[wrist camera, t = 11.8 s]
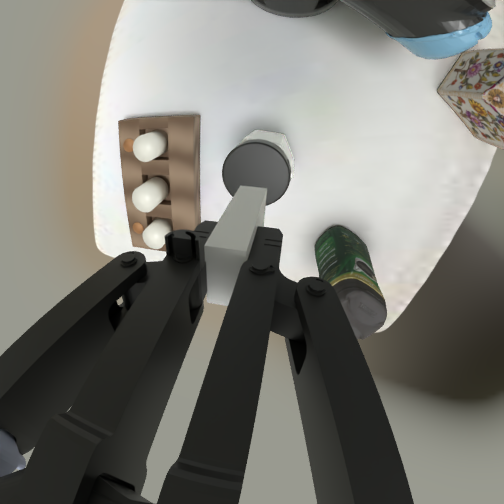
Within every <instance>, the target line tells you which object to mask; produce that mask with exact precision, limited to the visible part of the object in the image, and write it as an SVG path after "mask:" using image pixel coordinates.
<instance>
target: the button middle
mask: <svg viewBox="0 0 504 504" xmlns="http://www.w3.org/2000/svg"><path fill="white" fill-rule="evenodd" d="M168 192H169V189H168V185H167V183H166V182H165V181H164V180H163V179H162V178H159V177H153V178H151V179H149V180H148V181H146V182H145V183H143V184H142V185H141V186H139V187H138V188H136V189H135V190H134V191H133V194H132V201H133V204H134V205H135V207H136V208H137V209H138V210H140V211H141V212H150V211H152V210H153V209H154V208H155V207H156V206H157V205H158V204H159V203H161V202H162V201H163V200H164V199H165V198H166V197H167V195H168Z"/></svg>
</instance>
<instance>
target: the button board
mask: <svg viewBox="0 0 504 504" xmlns="http://www.w3.org/2000/svg"><path fill="white" fill-rule="evenodd" d="M118 124H119V143H120V157H121V168H122V178H123V186H124V194H125V202H126V209H127V216H128V222H129V228H130V234H131V239H132V245H133V247H140V248H146V249H152V248H150V247H149V246H147V245H146V243H145V242H144V240H143V231H144V230H145V229H146V228H147V227H148V226H149V225H150V224H151V223H152V222H153V221H154V220H155V219H156V218H157V217H160V218H170V219H172V222H173V231H174V230H180V229H187V230H192V231H194V230H195V228H196V227H197V225H198V224H200V223H201V217H200V115H177V116H155V117H141V118H129V119H124V120H120V121H118ZM155 130H163V131H165V132H166V133H167V134H168V151H167V152H166V153H164V154H162V155H160V156H158V157H156V158H155V159H153V160H151V161H148V162H142V161H140V160H138V159H137V158H136V156H135V155H134V152H133V144H134V141H135V139H136V138H137V137H139V136H141V135H143V134H146V133H149V132H152V131H155ZM153 177H159V178H162V179H163V180H164V181H165V182H166V183H167V185H168V189H169V192H168V195H167V197H166V198H165V199H164V200H163V201H162V202H161V203H159V204H158V205H157V206H156V207H155V208H154V209H153V210H152V211H150V212H141V211H140V210H138V209H137V208H136V207H135V205H134V204H133V201H132V194H133V191H134V190H135V189H136V188H138V187H139V186H141V185H142V184H143V183H145V182H146V181H148V180H149V179H151V178H153ZM153 250H159V251H166V245H165V244H164V245H163V247H162V248H160V249H153Z"/></svg>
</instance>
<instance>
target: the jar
mask: <svg viewBox="0 0 504 504" xmlns="http://www.w3.org/2000/svg"><path fill="white" fill-rule="evenodd" d="M222 176H223V182H224V185H225V187H226V189H227V190H228V192H229V193H230V194H231V195H232V196H233V197H234V195H235V193H236V192H237V190H238V189H239V187H240V186H250V187H259V188H267V194H266V205H269V204H272V203H274V202H276V201H277V200H278V199H280V198H281V197H282V196H283V195H284V193H285V192H286V190H287V188H288V186H289V182H290V180H291V179H292V178H293V177H294V158H293V155H292V152H291V150H290V147H289V144H288V142H287V139H286V137H285V135H284V134H281V133H275V132H269V131H263V130H257V129H256V130H254V131H253V132H251V133H250V134H249V135H248V136H246V137H245V138H244V139H243V140H242V141H241V143H240V144H239V145H238V146H237V147H236V148H234V149H233V150H232V151H231V152H230V153H229V154H228V156H227V157H226V159H225V161H224V164H223V169H222ZM266 205H265V206H266Z"/></svg>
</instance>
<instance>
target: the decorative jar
mask: <svg viewBox="0 0 504 504" xmlns="http://www.w3.org/2000/svg"><path fill="white" fill-rule="evenodd" d="M437 92H438V93H439V94H440V96H441V97H442V98H443V99H444V100H445V101H446V102H447V103H448V104H449V105H450V107H451V108H452V109H453V110H454V111H455V112H456V114H457V115H458V116H459V117H460V119H461V120H462V121H463V122H464V124H465V125H466V126H467V127H468V128H469V130H470V131H471V132H472V134H473V135H474V136H475V137H476V138H477V139H479V140H481V141H484V142H486V143H488V144H491V145H493V146H496V147H498V148H500V149H503V150H504V49H483V50H473V51H467V52H462V54H461V56H460V57H459V59H458V60H457V62H456V63H455V65H454V66H453V68H452V69H451V71H450V72H449V74H448V75H447V76H446V78H445V79H444V81H443V82H442V84H441V85H440V87H439V88H438V90H437Z"/></svg>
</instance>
